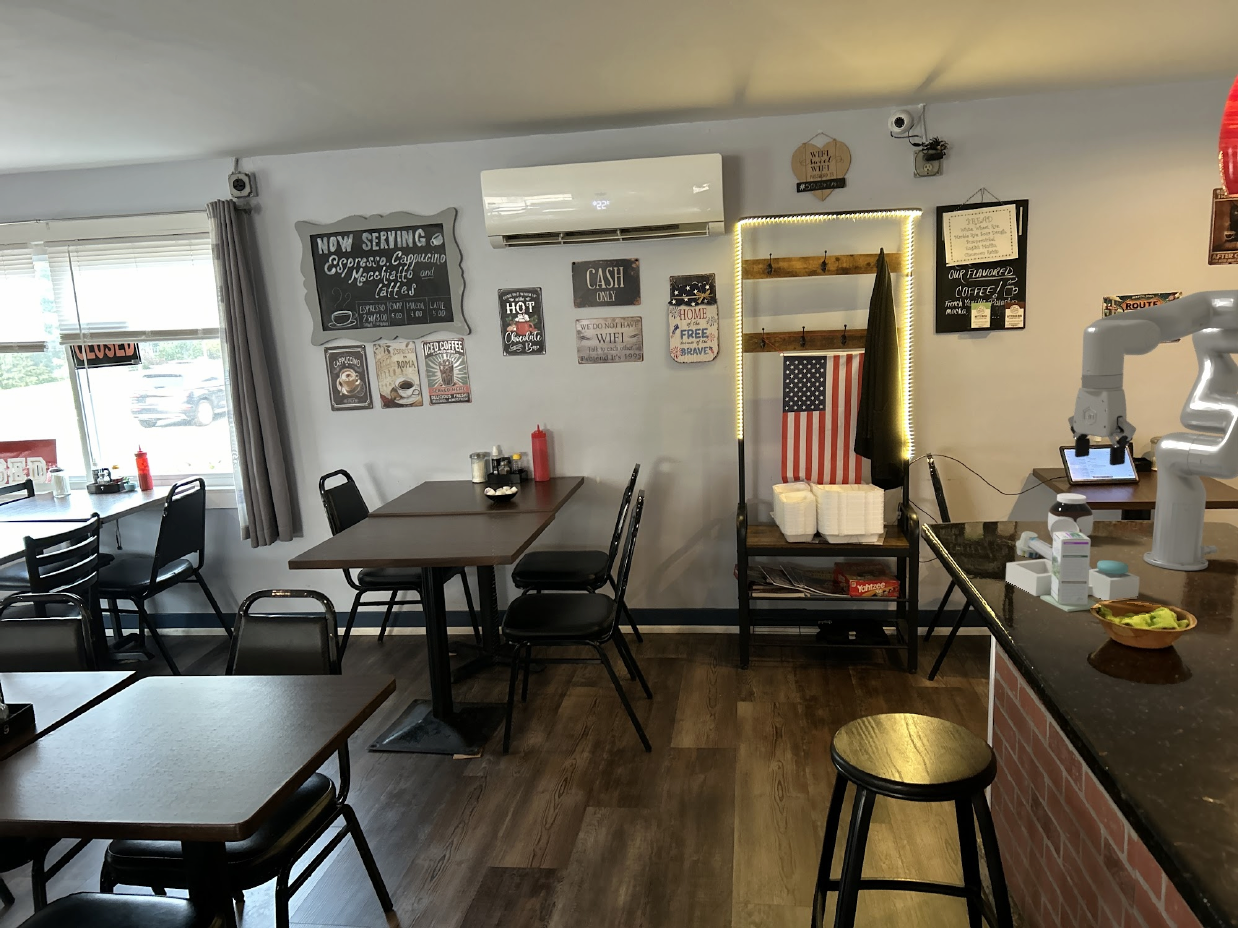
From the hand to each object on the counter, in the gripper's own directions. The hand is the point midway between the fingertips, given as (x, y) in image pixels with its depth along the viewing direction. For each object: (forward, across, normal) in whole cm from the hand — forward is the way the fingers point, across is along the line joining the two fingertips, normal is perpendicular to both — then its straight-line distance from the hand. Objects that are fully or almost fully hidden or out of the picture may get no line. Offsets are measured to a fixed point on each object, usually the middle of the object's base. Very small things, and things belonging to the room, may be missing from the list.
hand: (1099, 460), depth 168 cm
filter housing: (+28, +1, -8) cm, 29 cm away
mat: (+28, +8, -13) cm, 32 cm away
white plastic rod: (+29, -13, 0) cm, 32 cm away
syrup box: (+28, +8, -13) cm, 32 cm away
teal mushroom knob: (+28, +7, -2) cm, 29 cm away
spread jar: (+30, -31, +20) cm, 48 cm away
